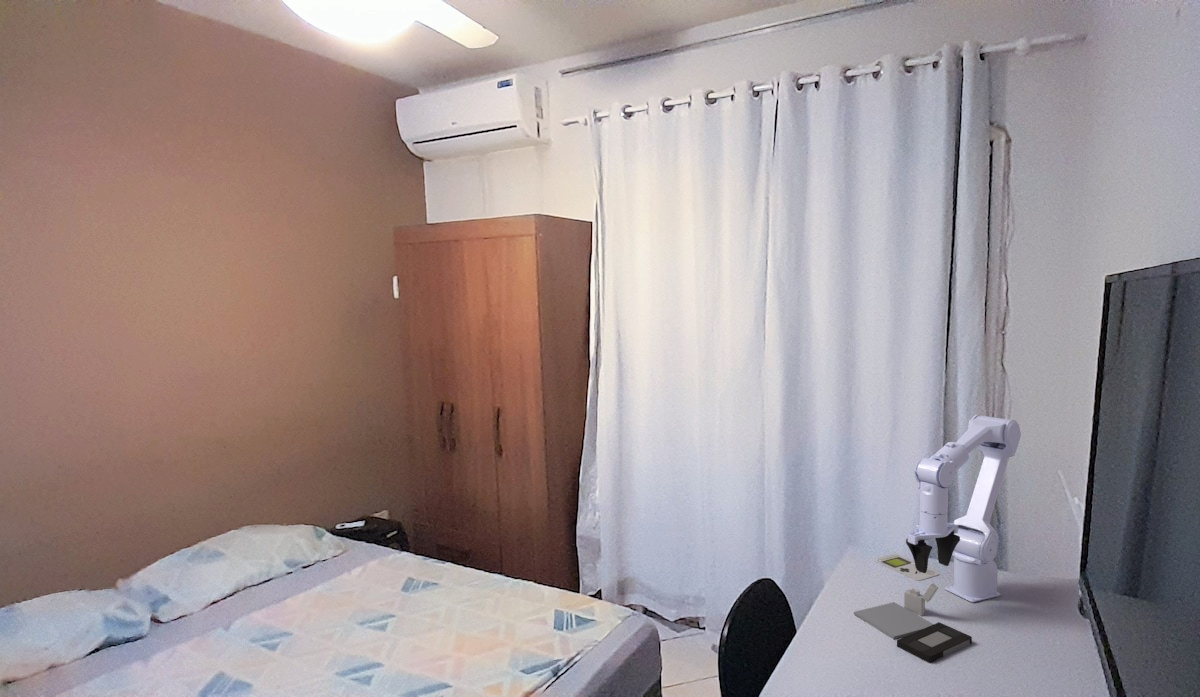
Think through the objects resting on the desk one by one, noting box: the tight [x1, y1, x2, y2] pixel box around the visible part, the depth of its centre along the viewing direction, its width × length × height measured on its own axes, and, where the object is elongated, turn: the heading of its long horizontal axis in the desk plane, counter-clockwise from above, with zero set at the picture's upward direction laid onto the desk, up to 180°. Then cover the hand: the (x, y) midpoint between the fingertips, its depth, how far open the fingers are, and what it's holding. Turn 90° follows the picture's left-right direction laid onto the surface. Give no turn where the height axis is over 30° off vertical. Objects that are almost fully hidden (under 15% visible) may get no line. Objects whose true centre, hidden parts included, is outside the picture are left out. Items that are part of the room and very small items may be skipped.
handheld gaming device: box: [877, 553, 940, 581], centre depth 179 cm, size 9×1×15 cm
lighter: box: [903, 583, 939, 617], centre depth 153 cm, size 7×2×8 cm, turn 39°
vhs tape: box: [896, 622, 973, 664], centre depth 140 cm, size 8×14×2 cm, turn 119°
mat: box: [853, 602, 935, 640], centre depth 151 cm, size 12×12×1 cm
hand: (932, 567), depth 154 cm, fingers open, 7 cm apart
